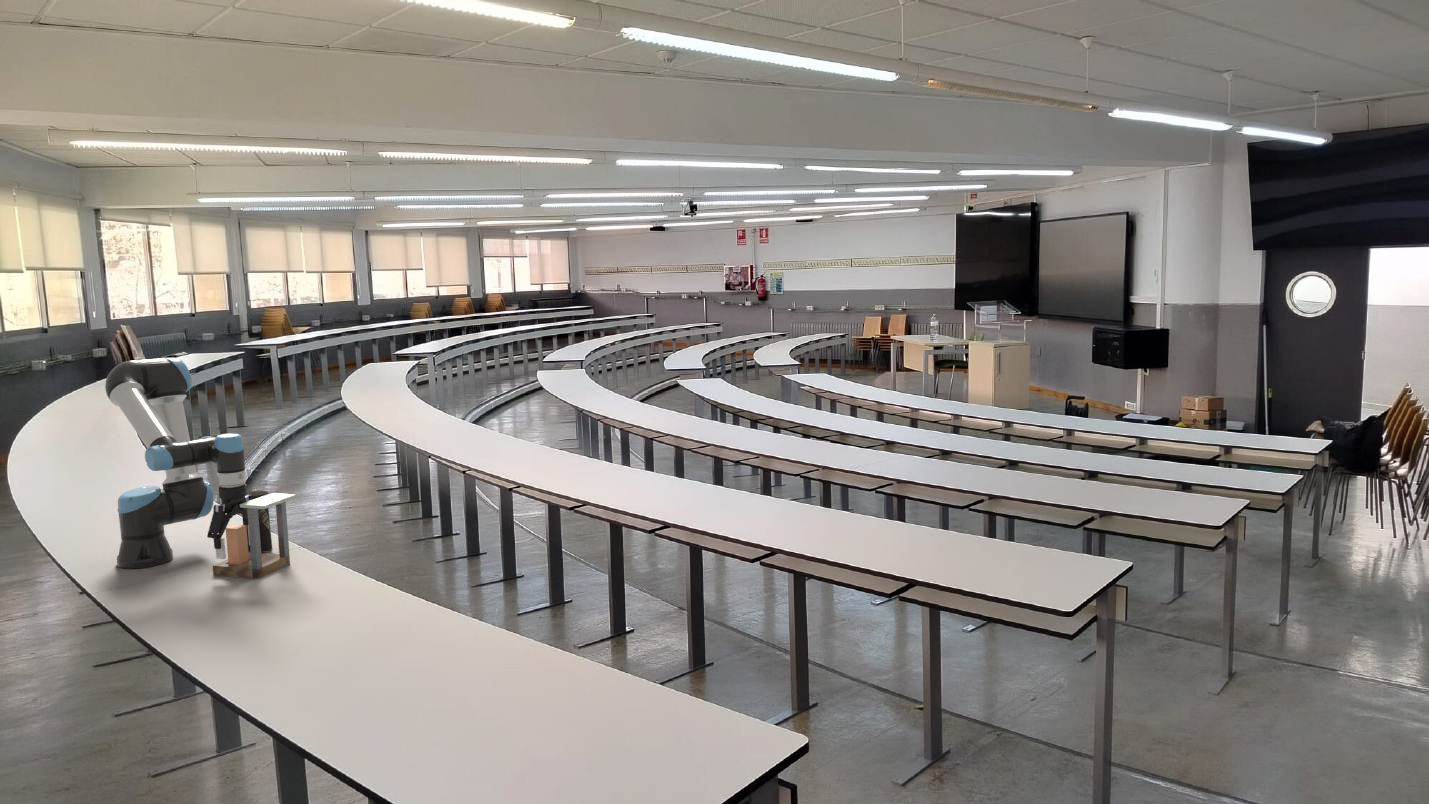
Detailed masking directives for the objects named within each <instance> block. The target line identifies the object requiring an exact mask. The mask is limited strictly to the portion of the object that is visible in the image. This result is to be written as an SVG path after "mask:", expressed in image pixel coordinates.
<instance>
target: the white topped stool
mask: <svg viewBox="0 0 1429 804" xmlns="http://www.w3.org/2000/svg"><path fill="white" fill-rule="evenodd" d="M296 498H297V494H294V493H293V494H292V493H282V492H281V493H278V492H272V493H271V492H270V493H269V494H268V495H265V496H262V497H259V498H256V499H254V500H251V501H248V502H245V503H242V504H240V508H247V513H248V525H249V538H250V551H251V563H252V569H253V570H254V571H255V569H256V571H255V572H256V573H254V575H255V576H256V575H257V572H258V571H260V569H261V570H262V556H261V543H260V530H259V517H258V509H267V508H268V509H269V508H271V507H272V508H273V507H274V506H275V512H276V513H275V514H276V527H277V528H276V529H277V539H278V540H277V541H278V553H279V555H280V557H286V556H287V557H288V556H290V543H289V542H290V541H289V531H288V516H287V502H288V501H291V500H293V499H296ZM287 559H289V558H287ZM287 559H286V558H285V560H287ZM286 562H287V561H286ZM287 563H288V562H287ZM287 566H289V564H288V565H287V564H286V566H285V567H287ZM258 569H259V570H258ZM253 570H252V571H253ZM258 573H260V572H258ZM252 574H253V573H252ZM261 574H262V573H261ZM252 576H253V575H252ZM257 576H258V577H259V575H257ZM260 576H261V575H260ZM258 577H256V578H255V577H253V578H254V579H253V580H259V579H261V578H258ZM257 578H258V579H257Z"/></svg>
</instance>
